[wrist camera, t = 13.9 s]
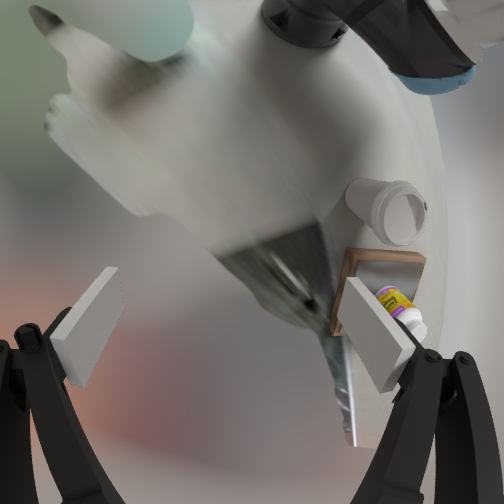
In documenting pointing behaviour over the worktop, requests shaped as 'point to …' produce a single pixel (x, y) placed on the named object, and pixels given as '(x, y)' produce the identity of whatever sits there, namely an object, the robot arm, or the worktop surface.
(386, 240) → the coffee cup
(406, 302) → the supplement bottle
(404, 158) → the worktop surface
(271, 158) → the worktop surface
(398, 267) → the plinth
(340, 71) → the worktop surface
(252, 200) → the worktop surface
